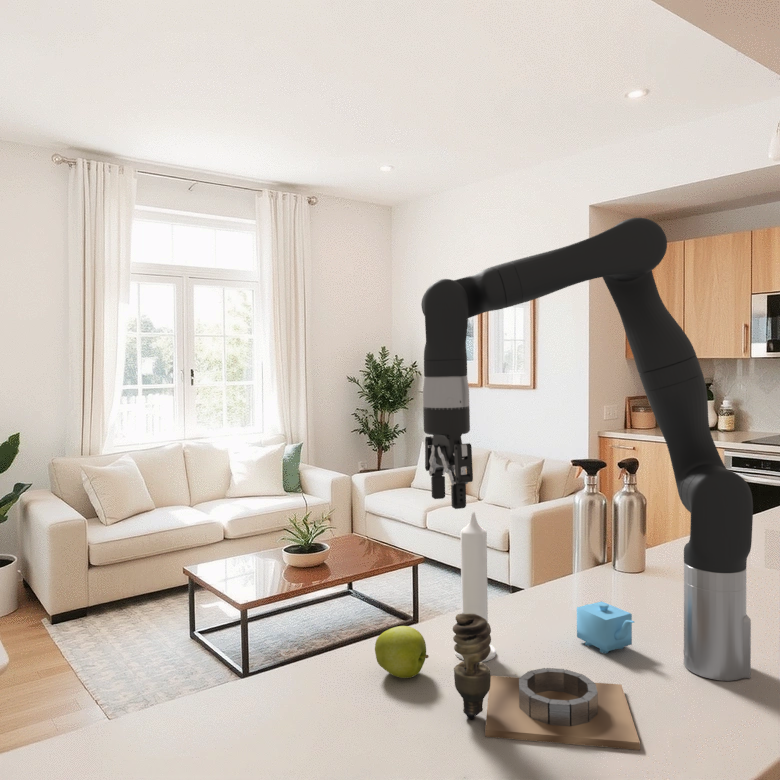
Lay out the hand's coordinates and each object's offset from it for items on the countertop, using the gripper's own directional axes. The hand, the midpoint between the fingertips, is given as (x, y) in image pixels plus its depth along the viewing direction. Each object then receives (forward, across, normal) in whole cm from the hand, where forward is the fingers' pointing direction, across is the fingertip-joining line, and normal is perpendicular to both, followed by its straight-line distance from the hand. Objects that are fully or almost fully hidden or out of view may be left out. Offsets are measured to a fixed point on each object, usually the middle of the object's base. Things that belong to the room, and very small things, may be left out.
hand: (448, 503), depth 110 cm
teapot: (+28, -1, -30) cm, 41 cm away
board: (+28, -17, -9) cm, 34 cm away
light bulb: (+28, -14, +3) cm, 32 cm away
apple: (+28, +1, +8) cm, 29 cm away
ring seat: (+28, -17, -9) cm, 34 cm away
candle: (+28, +5, -6) cm, 29 cm away
